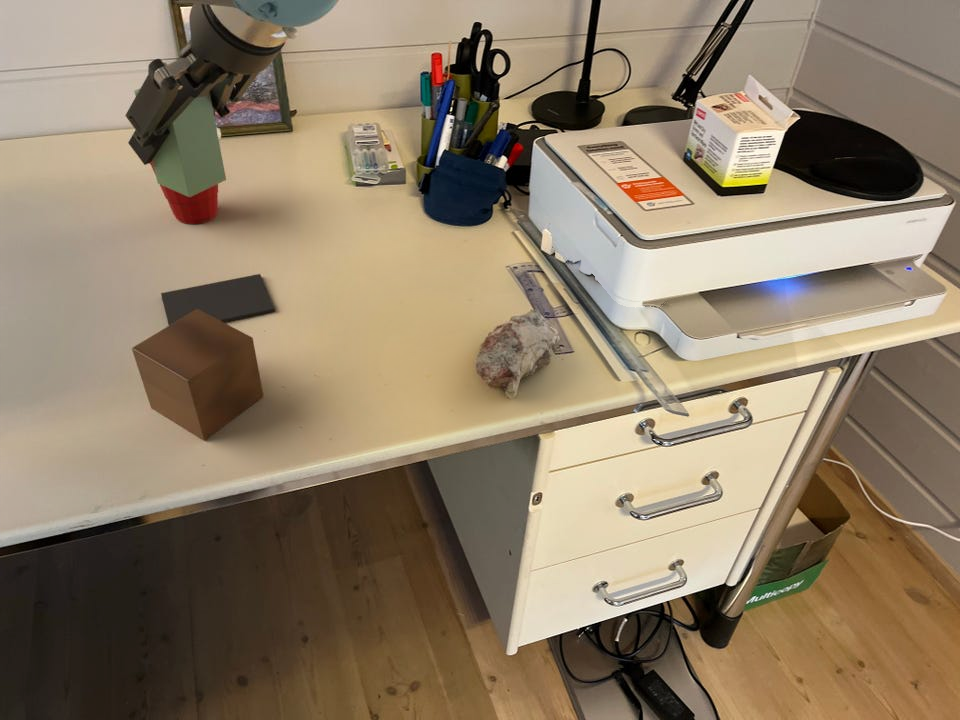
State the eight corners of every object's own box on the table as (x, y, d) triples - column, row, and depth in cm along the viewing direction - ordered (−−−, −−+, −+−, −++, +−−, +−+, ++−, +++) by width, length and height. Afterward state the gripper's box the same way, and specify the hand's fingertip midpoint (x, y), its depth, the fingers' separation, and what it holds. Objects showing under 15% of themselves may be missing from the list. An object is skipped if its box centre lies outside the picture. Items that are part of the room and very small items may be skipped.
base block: (204, 441, 74) (188, 381, 69) (150, 407, 77) (131, 348, 72) (264, 396, 79) (252, 337, 74) (211, 367, 82) (197, 308, 77)
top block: (189, 197, 78) (168, 103, 72) (157, 183, 80) (133, 90, 74) (226, 179, 81) (209, 88, 75) (194, 166, 83) (175, 76, 77)
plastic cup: (222, 189, 113) (207, 111, 105) (246, 221, 106) (231, 141, 98) (147, 205, 108) (125, 125, 100) (167, 240, 101) (145, 157, 94)
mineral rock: (523, 318, 92) (526, 288, 89) (578, 345, 88) (583, 315, 86) (445, 379, 83) (446, 348, 80) (503, 412, 79) (506, 381, 76)
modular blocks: (540, 249, 104) (543, 224, 102) (573, 233, 108) (576, 209, 105) (656, 315, 94) (662, 289, 91) (687, 295, 98) (694, 269, 95)
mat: (170, 334, 86) (169, 330, 86) (161, 296, 92) (160, 293, 91) (275, 311, 91) (274, 308, 90) (260, 276, 96) (260, 273, 96)
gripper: (190, 80, 58) (111, 206, 75) (346, 25, 69) (247, 145, 87) (127, -8, 56) (61, 141, 73) (297, -48, 68) (206, 88, 85)
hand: (162, 143), depth 80 cm, fingers closed on top block, 5 cm apart
